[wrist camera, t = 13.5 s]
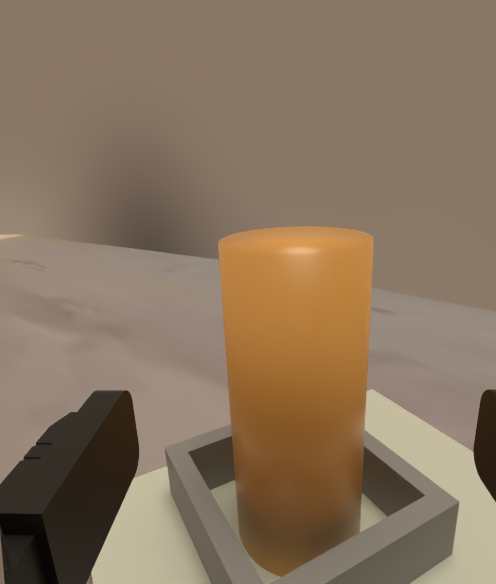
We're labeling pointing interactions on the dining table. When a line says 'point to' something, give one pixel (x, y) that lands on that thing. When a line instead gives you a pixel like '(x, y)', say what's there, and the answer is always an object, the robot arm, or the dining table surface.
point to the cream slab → (337, 561)
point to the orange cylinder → (297, 386)
